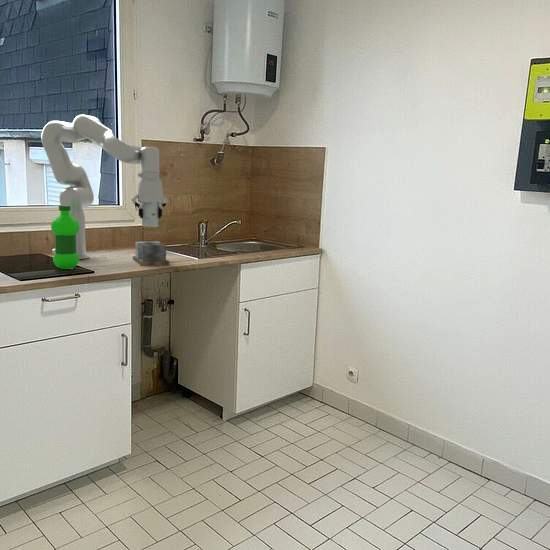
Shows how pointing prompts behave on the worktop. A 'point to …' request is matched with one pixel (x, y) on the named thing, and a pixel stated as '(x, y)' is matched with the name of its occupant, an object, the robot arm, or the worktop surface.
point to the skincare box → (150, 214)
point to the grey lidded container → (150, 253)
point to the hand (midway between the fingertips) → (150, 217)
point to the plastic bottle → (65, 239)
